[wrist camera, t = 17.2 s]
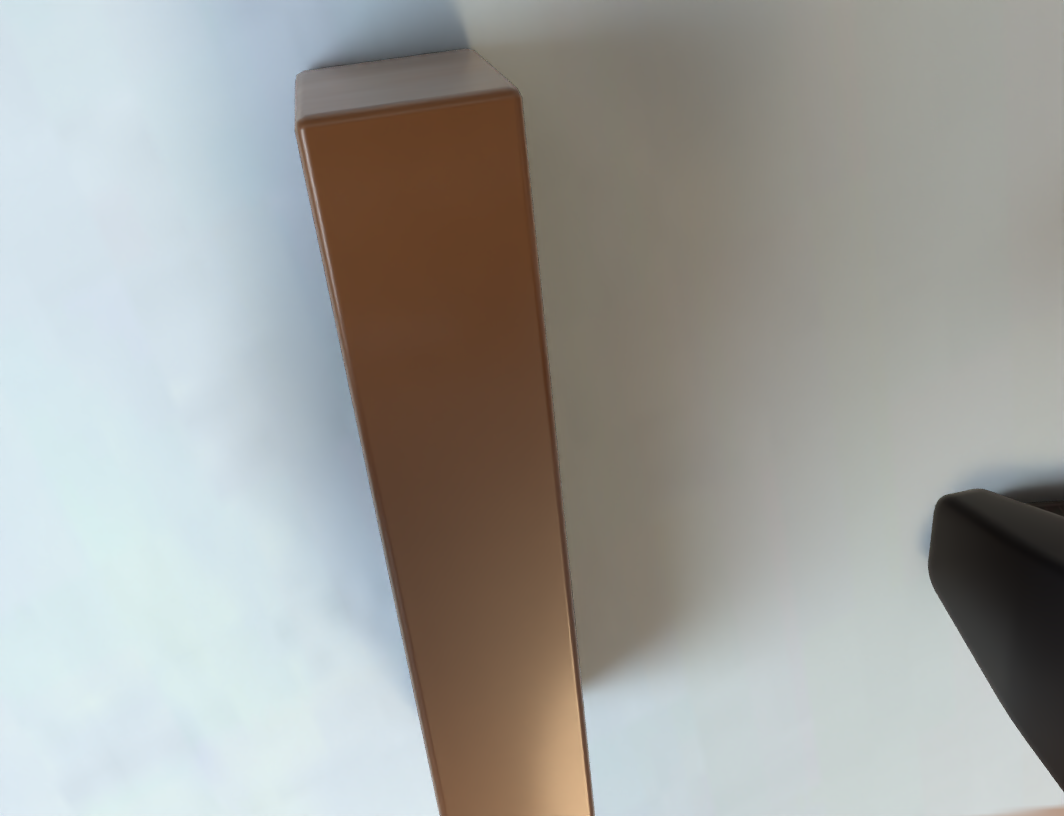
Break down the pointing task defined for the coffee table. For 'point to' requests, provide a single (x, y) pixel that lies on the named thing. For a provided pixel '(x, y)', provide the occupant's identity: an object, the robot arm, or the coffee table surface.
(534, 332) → the stirring stick
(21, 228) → the coffee table surface
